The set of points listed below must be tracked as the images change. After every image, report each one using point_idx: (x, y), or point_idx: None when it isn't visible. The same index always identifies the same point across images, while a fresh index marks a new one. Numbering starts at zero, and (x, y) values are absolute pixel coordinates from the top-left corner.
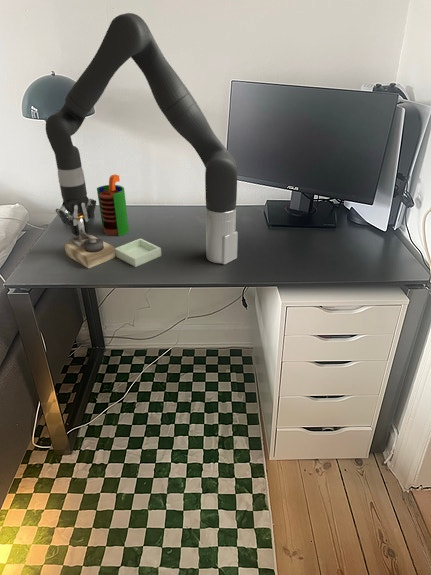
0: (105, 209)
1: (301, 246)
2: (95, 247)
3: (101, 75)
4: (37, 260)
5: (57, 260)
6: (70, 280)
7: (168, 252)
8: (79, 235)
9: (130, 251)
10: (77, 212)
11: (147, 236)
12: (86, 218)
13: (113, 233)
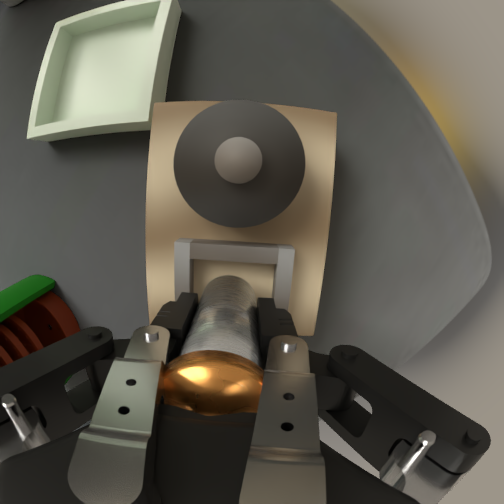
0: None
1: None
2: (267, 107)
3: None
4: (387, 345)
5: (353, 295)
6: (413, 118)
7: (46, 44)
8: (253, 299)
9: (101, 108)
10: (237, 427)
11: (3, 196)
12: (148, 343)
13: (60, 305)
